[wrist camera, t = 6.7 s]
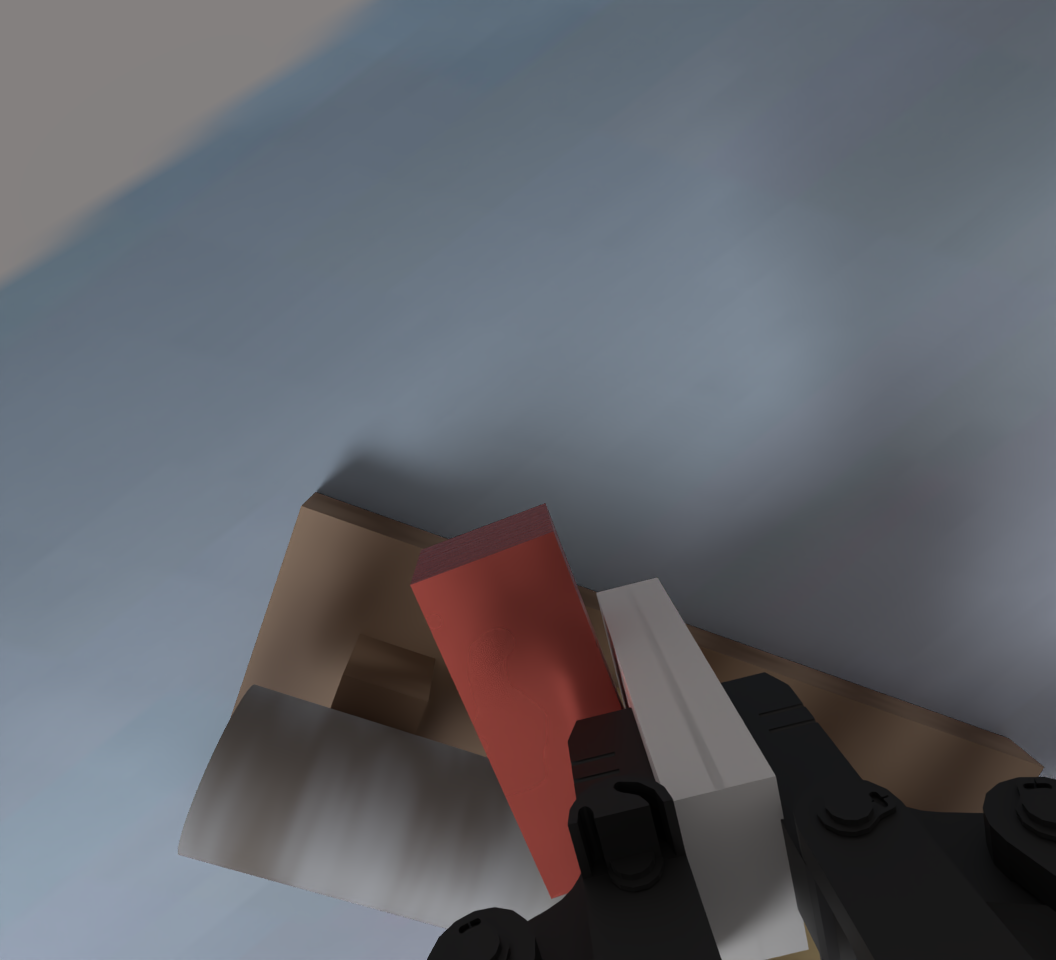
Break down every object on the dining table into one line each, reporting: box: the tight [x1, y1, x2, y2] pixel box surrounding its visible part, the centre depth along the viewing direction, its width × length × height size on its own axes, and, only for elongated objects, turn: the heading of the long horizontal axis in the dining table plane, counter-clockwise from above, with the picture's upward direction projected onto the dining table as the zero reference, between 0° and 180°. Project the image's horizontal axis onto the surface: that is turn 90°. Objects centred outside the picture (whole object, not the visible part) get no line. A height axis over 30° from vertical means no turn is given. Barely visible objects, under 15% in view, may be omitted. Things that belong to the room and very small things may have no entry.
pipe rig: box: [178, 492, 1044, 960], centre depth 24 cm, size 32×14×12 cm, turn 68°
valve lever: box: [410, 503, 624, 899], centre depth 15 cm, size 3×18×3 cm, turn 21°
